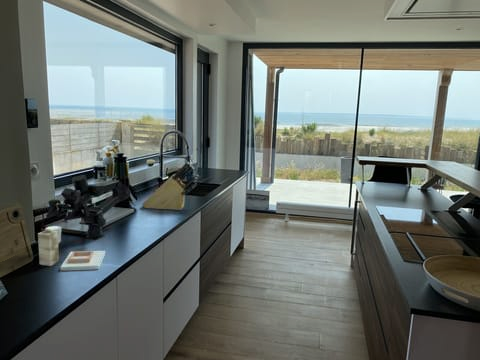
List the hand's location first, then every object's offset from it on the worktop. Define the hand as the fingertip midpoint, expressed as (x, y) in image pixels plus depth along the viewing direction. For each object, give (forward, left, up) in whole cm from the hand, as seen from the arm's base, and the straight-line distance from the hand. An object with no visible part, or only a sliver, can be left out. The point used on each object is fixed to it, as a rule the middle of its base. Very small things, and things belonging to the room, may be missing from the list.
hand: (55, 218), depth 154 cm
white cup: (-11, -13, -17) cm, 24 cm away
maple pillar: (+7, +3, -17) cm, 18 cm away
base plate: (+1, +14, -16) cm, 22 cm away
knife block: (-91, +3, -17) cm, 93 cm away
